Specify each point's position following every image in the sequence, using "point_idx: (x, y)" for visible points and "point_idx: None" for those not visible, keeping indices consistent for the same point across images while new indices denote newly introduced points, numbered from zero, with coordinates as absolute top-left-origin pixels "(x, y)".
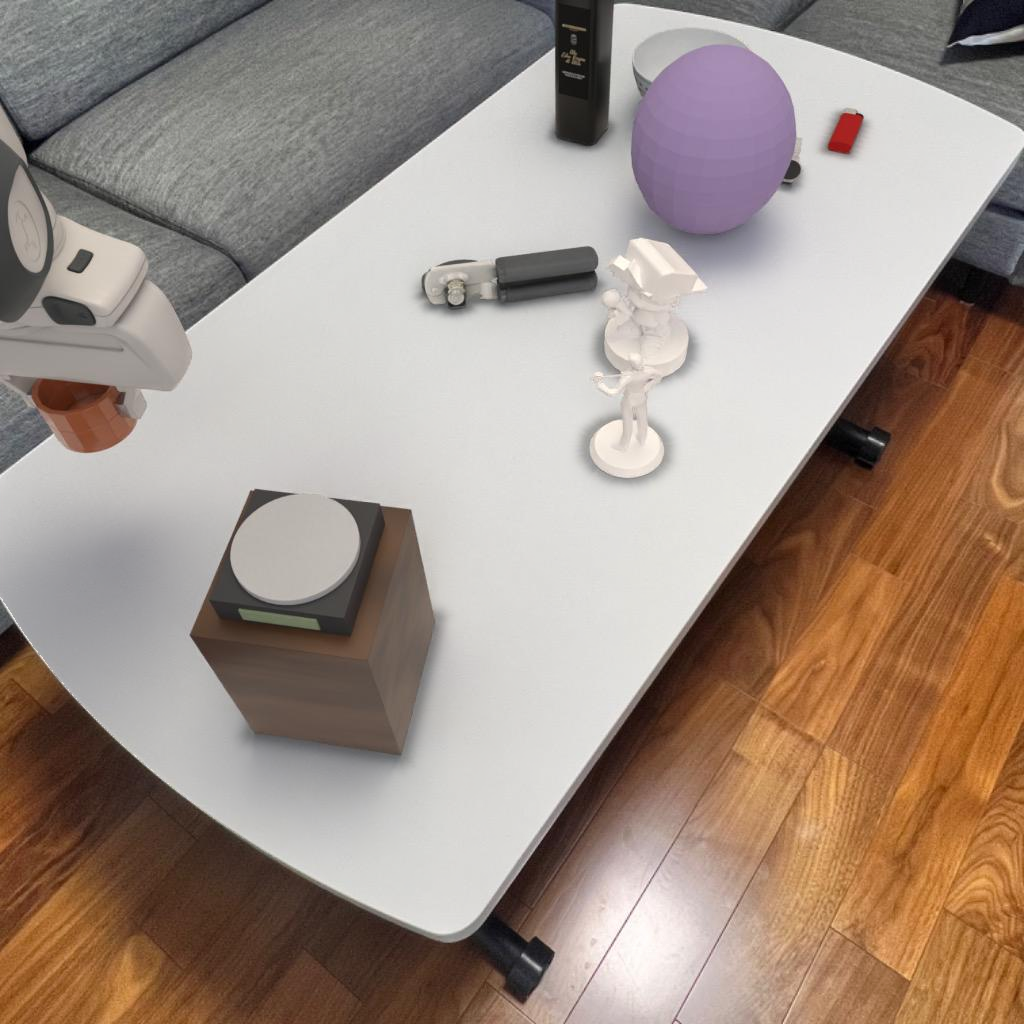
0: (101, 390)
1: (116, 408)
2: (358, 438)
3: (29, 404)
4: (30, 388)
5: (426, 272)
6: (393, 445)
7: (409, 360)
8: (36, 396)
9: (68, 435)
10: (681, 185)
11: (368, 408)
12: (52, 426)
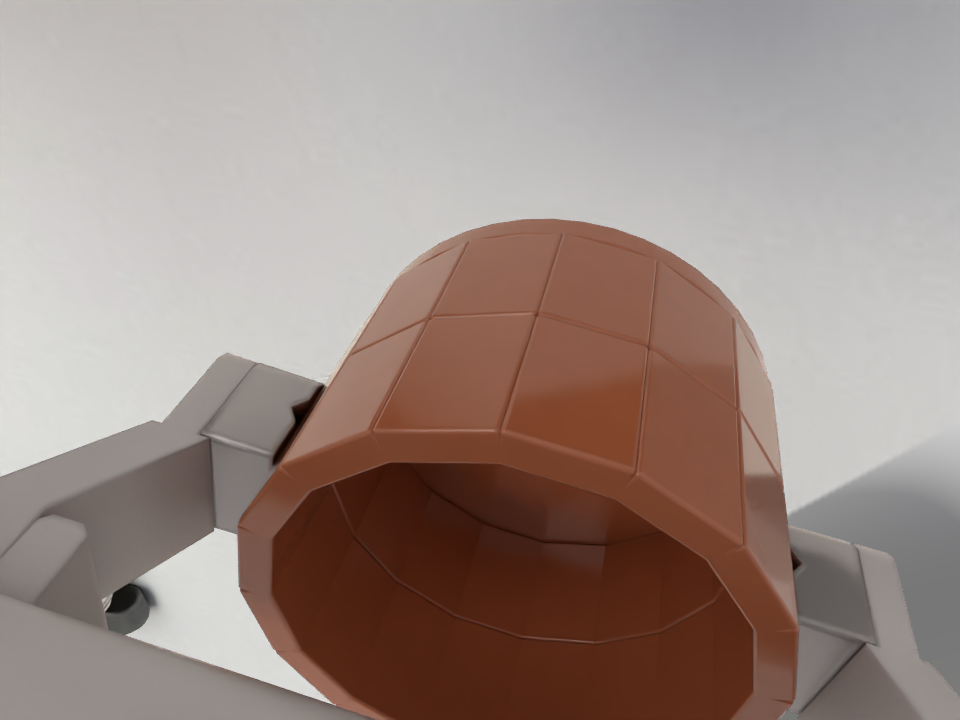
0: (543, 554)
1: (288, 430)
2: (145, 299)
3: (879, 571)
4: (839, 675)
5: (128, 630)
6: (62, 266)
7: None
8: (757, 626)
9: (602, 310)
10: None
11: (154, 373)
12: (698, 388)
